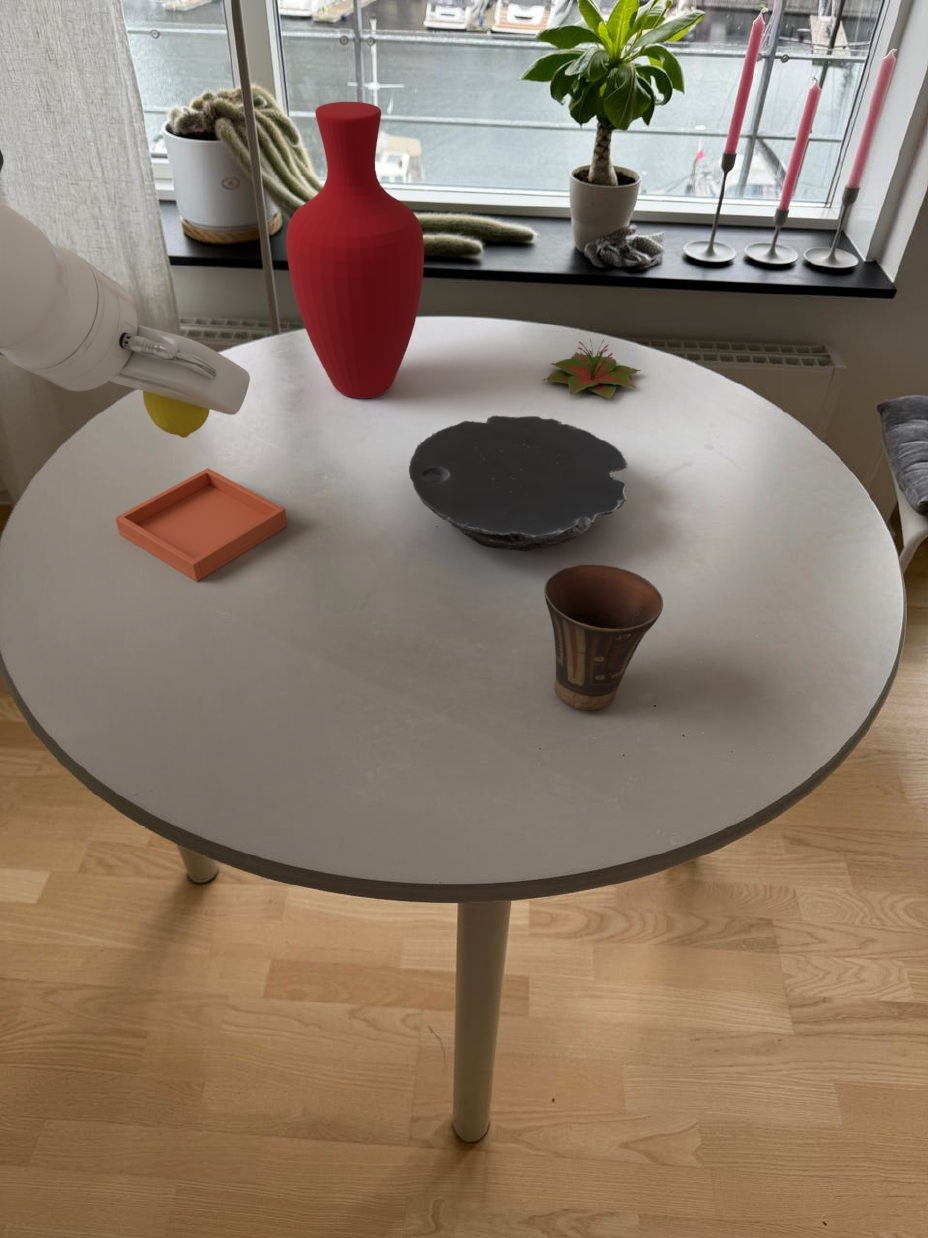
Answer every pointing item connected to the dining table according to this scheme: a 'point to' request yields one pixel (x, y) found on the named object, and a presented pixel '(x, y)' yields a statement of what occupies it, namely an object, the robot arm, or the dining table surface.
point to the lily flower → (592, 373)
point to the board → (518, 480)
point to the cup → (597, 629)
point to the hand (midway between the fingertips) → (179, 389)
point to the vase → (356, 259)
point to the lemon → (174, 414)
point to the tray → (201, 523)
